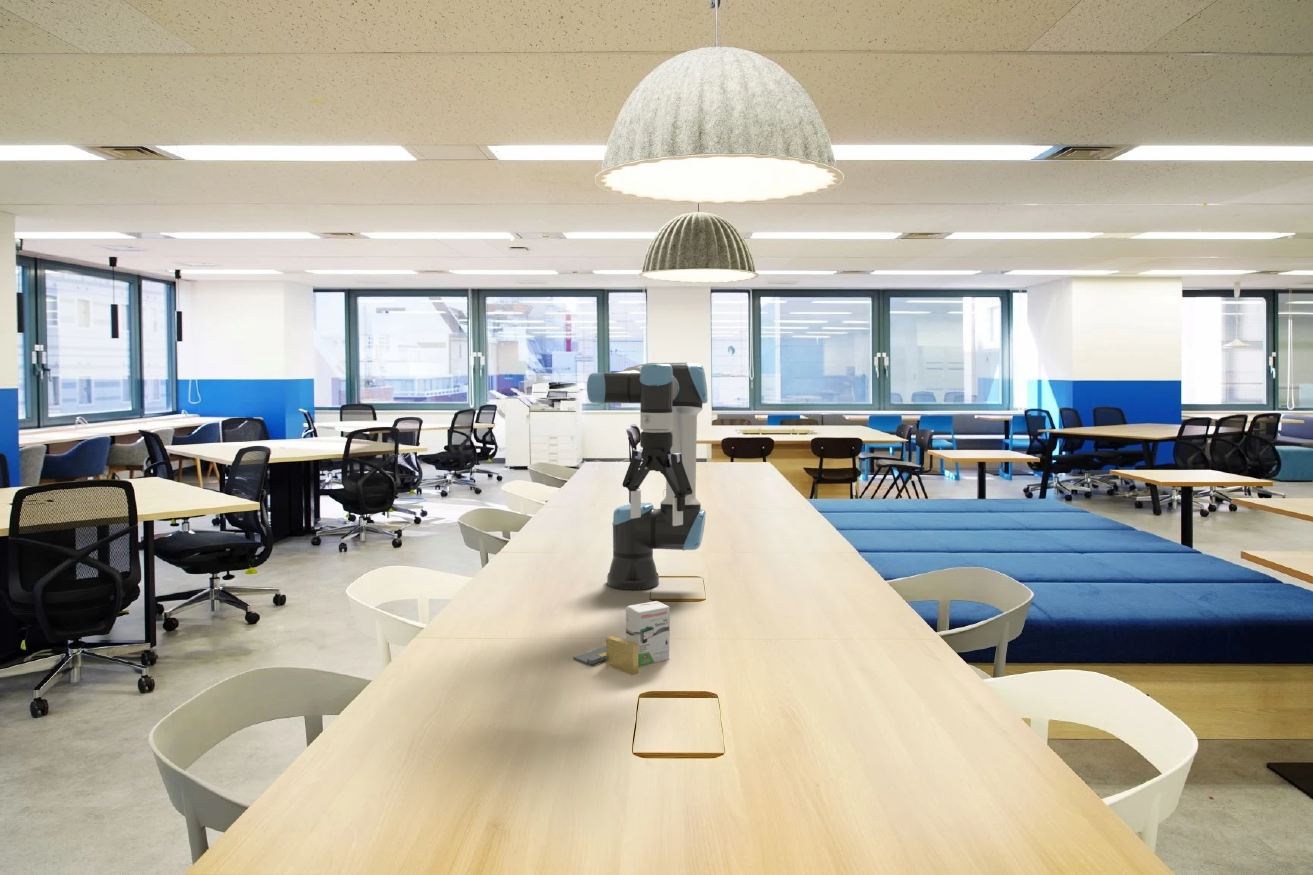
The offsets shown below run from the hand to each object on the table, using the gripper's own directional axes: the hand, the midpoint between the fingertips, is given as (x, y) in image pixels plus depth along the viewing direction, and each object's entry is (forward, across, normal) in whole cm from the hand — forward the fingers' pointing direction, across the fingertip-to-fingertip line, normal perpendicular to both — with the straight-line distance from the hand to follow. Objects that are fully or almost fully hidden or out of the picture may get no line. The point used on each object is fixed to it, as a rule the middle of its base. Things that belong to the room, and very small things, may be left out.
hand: (656, 521), depth 188 cm
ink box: (+27, +11, -14) cm, 32 cm away
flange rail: (+27, +7, -17) cm, 32 cm away
